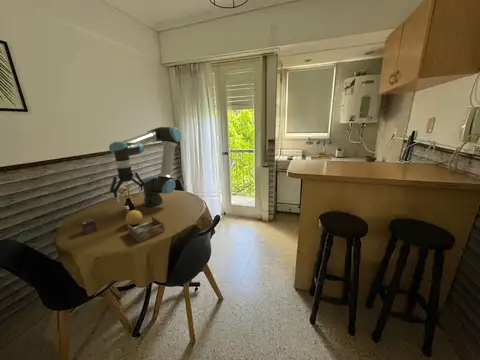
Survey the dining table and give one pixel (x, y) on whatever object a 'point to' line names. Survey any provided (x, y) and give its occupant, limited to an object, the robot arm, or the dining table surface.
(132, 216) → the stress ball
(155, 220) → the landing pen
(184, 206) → the dining table surface
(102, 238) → the dining table surface
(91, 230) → the box
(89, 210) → the dining table surface
